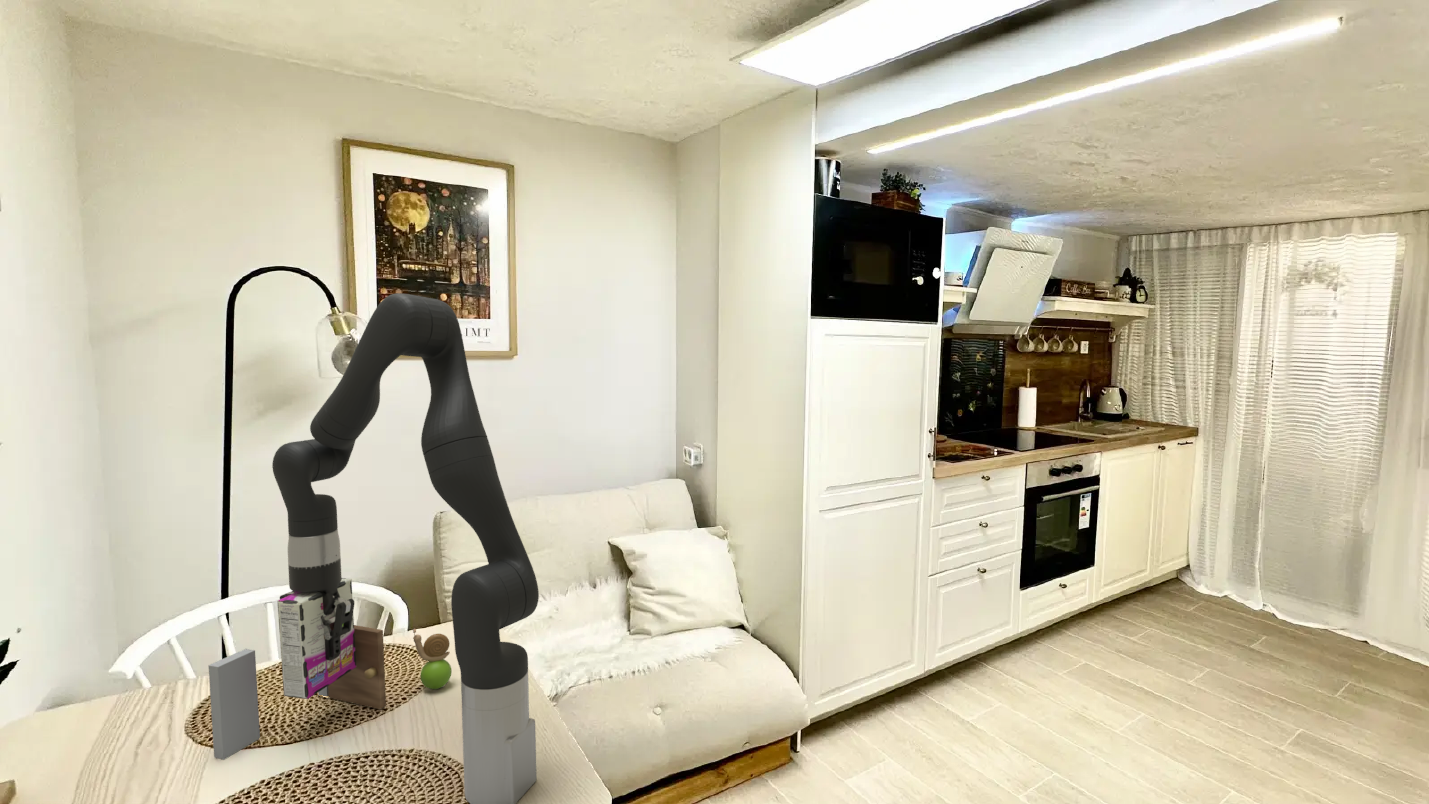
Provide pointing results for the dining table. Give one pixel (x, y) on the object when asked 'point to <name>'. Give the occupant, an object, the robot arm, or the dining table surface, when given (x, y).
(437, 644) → the snail figurine
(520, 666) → the robot arm
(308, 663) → the candy bar box
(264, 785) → the dining table surface
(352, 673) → the door
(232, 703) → the door frame
